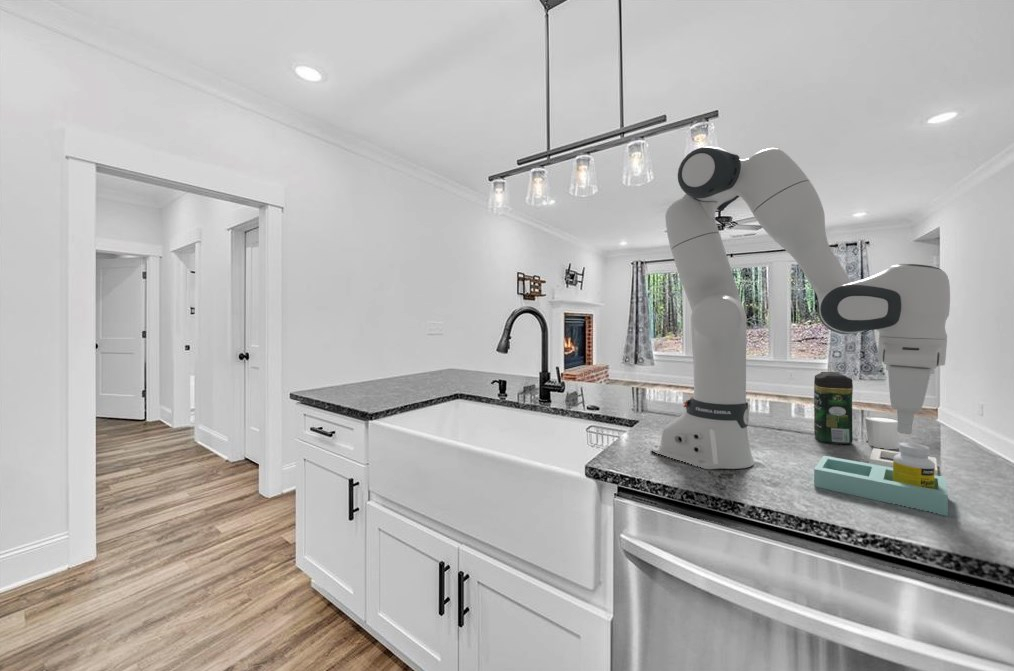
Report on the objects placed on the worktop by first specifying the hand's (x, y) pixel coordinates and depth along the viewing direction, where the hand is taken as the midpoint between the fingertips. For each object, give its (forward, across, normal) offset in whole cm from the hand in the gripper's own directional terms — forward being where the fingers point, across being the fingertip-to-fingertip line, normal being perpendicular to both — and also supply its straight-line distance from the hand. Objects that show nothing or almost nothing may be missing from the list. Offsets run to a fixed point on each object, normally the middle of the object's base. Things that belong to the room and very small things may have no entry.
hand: (904, 428), depth 75 cm
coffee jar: (+13, -35, -14) cm, 40 cm away
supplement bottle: (+13, 0, +2) cm, 13 cm away
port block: (+13, 0, -3) cm, 13 cm away
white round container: (+13, -37, -4) cm, 39 cm away
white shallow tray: (+13, -22, 0) cm, 25 cm away
